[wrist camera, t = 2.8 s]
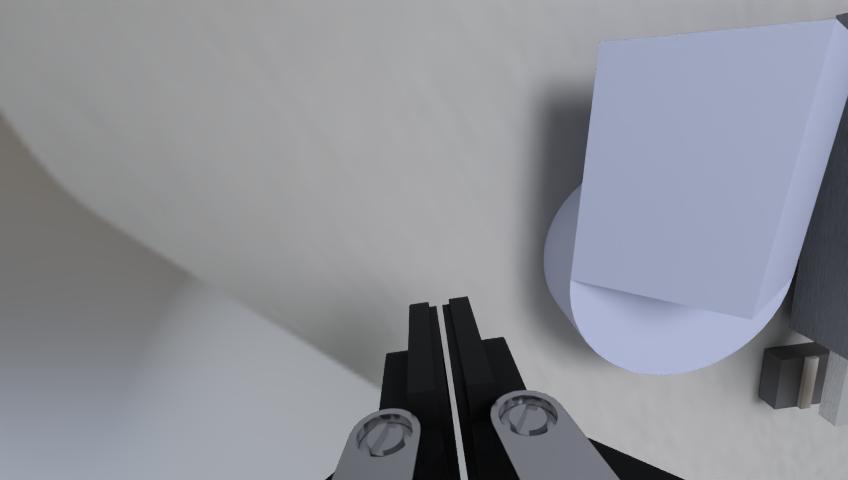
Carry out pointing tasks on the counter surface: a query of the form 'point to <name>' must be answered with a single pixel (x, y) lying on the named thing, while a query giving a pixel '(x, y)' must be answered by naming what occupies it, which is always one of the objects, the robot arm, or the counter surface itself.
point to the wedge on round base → (696, 189)
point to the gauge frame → (794, 375)
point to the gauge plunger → (828, 275)
